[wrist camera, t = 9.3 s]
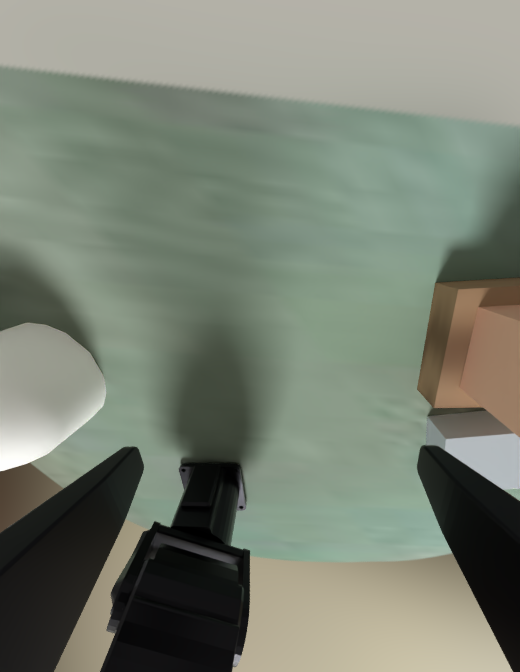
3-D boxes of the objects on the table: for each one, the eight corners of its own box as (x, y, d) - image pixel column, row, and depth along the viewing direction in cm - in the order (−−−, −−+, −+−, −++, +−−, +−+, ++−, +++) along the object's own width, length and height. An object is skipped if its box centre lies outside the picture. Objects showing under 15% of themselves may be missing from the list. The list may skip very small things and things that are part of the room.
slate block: (491, 458, 24) (519, 488, 21) (423, 463, 24) (441, 492, 22) (500, 406, 21) (532, 432, 19) (425, 413, 22) (445, 439, 20)
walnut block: (528, 383, 21) (567, 406, 18) (414, 386, 22) (433, 407, 19) (568, 272, 17) (622, 279, 15) (431, 281, 18) (458, 289, 16)
